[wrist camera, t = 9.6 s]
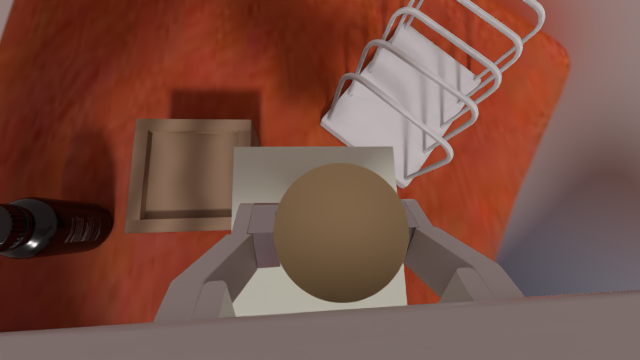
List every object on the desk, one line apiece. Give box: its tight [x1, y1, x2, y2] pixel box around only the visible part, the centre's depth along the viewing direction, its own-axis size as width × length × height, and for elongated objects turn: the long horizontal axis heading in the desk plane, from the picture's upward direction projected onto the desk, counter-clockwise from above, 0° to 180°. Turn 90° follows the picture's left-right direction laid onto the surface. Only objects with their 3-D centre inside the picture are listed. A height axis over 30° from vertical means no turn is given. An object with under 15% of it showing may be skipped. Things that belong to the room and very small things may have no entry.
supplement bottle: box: [0, 197, 112, 259], centre depth 30 cm, size 7×7×12 cm
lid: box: [231, 146, 409, 317], centre depth 11 cm, size 10×10×9 cm
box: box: [124, 119, 260, 233], centre depth 34 cm, size 14×14×8 cm
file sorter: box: [320, 0, 545, 188], centre depth 36 cm, size 25×17×16 cm
